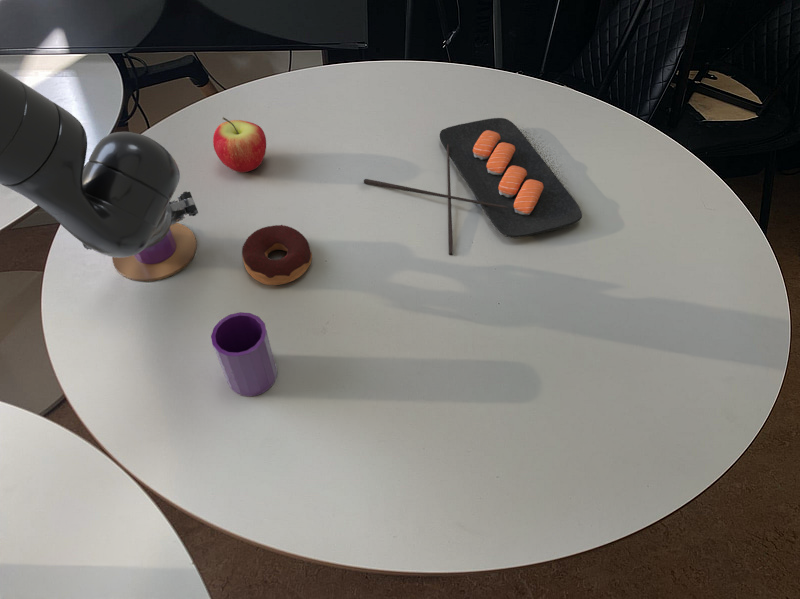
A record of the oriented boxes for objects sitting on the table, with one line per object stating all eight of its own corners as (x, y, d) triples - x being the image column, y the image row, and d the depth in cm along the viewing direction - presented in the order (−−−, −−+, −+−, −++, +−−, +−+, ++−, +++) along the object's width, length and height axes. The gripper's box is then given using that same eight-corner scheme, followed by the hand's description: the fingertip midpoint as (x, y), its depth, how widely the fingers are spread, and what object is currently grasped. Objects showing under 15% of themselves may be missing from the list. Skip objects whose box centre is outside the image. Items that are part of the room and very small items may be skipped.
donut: (313, 286, 85) (310, 267, 82) (243, 292, 85) (238, 273, 82) (311, 236, 92) (308, 217, 89) (246, 241, 91) (241, 222, 88)
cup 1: (134, 268, 86) (112, 222, 79) (132, 239, 90) (110, 193, 83) (178, 258, 88) (160, 213, 81) (174, 230, 91) (156, 184, 84)
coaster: (114, 289, 85) (113, 287, 84) (112, 232, 92) (110, 230, 91) (201, 270, 87) (200, 268, 87) (192, 216, 94) (191, 213, 94)
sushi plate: (586, 227, 94) (593, 209, 91) (406, 273, 87) (407, 255, 84) (506, 123, 111) (509, 105, 108) (350, 155, 104) (349, 136, 101)
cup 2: (231, 402, 74) (215, 362, 67) (224, 361, 77) (207, 319, 70) (281, 388, 75) (270, 347, 68) (272, 349, 79) (260, 306, 72)
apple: (214, 158, 103) (200, 107, 96) (261, 145, 106) (251, 94, 98) (228, 187, 99) (214, 135, 91) (277, 172, 101) (267, 121, 93)
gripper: (185, 162, 68) (183, 182, 84) (53, 201, 64) (76, 215, 79) (210, 224, 70) (204, 233, 85) (82, 267, 65) (100, 269, 80)
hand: (142, 225), depth 82 cm, fingers open, 8 cm apart
